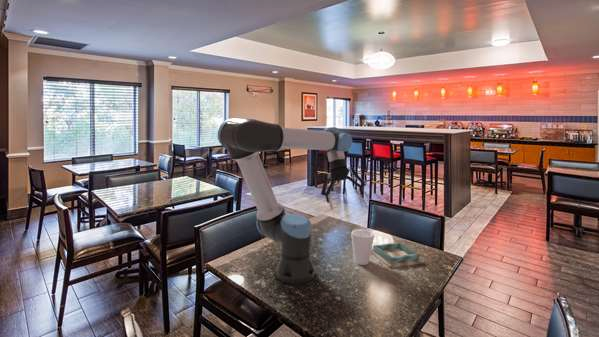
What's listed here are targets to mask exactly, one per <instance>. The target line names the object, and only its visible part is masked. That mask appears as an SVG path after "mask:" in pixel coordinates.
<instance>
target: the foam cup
mask: <svg viewBox="0 0 599 337" xmlns="http://www.w3.org/2000/svg"><path fill="white" fill-rule="evenodd" d="M350 235H351V244H352V251H353V252H352V255H353V262H354V263H355V264H356V265H360V266H363V265H364V266H365V265H368V264H369V263H370V258H371V250H372V249H373V248H372V247H373V243H374V240H375V239H374V238H375V233H374V232H373V231H371V230H367V229H361V228H359V229H353V230H352V231H351V234H350Z"/></svg>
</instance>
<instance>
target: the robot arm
mask: <svg viewBox="0 0 599 337" xmlns="http://www.w3.org/2000/svg"><path fill="white" fill-rule="evenodd" d="M339 130H340V129H338V127H335V126H332V127H327V128H324V129H323V130H314V129H304V128H293V127H282V125H280V124H277V123H270V122H266V121H262V120H258V119H253V118H240V117H232V118H228V119H225V120H224V121H222V122H221V124H220V125H219V128H218V129H217V140H218V143H219V144H220V145H221V146H222V147H223V148H224V149H226V150H227V152H228V155H229V157H230V159H231V160H232V161H235V162H236V163H237V165H238V167H239V169H240V171H241V174H242V177H243V179H244V182H245V183H246V187H247V188H248V191H249V192H250V196H251V198H252V200H253V202H254V204H255V207H256V209H257V212H256V222H255V223H256V224H255V225H256V228H257V231H258V232H259V233H260V234H261V235H262V236H263V237H265V238H267V239H269V240H271V241H273V242H275V243H277V244H279V245H280V259H279V260H278V264H277V267H276V272H275V273H276V275H275V276H276V277H277V279H278V280H279V281H281V282H282V283H286V284H289V285H290V284H291V285H302V284H306V283H308V282H311V281H312V280H313V279H314V278H315V272H316V271H315V267H314V262H313V260H312V255H311V253H312V252H311V250H312V224H311V221H310V219H309V218H308V217H306V216H304V215H303V214H297V213H286V211H285V208H284V206H283V204H281V203H279V202H278V201H277V198H276V196H275V195H276V194H275V193H274V190H273V188H272V185H271V183H270V180H269V178H268V176H267V175H268V174H267V173H266V170H265V167H264V165H263V162H262V160H261V158H260V154H259V153H261V152H279V151H280V150H281V149H283V150H284V149H285V150H288V149H289V150H290V149H291V150H311V151H312V150H314V151H315V150H316V151H326V154H327V158H328V162H329V169H330V173H324V181H323V185H322V189H321V193H320V195H321V196H325V200H326V202H327V203H328V205H329V207H330V210H332V211H333V210H334V205H333V200H332V195H331V192H332V190H333V188H334V186H335V185H336V183H337V182H341V181H345V180H349V181H350V182H351V183H352V184H354V185H355V186H356V187H358V188H357V192H358V197H359V201H360V204H364V201H363V200H364V199H363V196H364V194H365V193H364V189H363V188H364V187H366V186H367V184H366V183H365V181H364V180H363V179H362V178H361V176H359V174H358V173H357V172H356V169H355V168H354V167H352V166H351V168H348V165H347V161H346V159H345V158H346V155H345V152H347V151H349V150H350V149H351V148H352V146H353V138H352V136H351V134H349V133H346V132H340V131H339ZM350 173H351V174H353V176H355V178H356V179H357V180H358V182H360V183H358V182H357V181H356V180H354V179H353V178H352V177H350V176H349V174H350ZM331 177H332V179H331ZM330 179H331V182H330V184H329V180H330ZM328 184H329V186H328Z"/></svg>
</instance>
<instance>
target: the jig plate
mask: <svg viewBox="0 0 599 337" xmlns="http://www.w3.org/2000/svg"><path fill="white" fill-rule="evenodd" d="M372 247H373V248H371V254H372V255H373V256H374V257H375V258H377V259H378V260H379V261H380V262H381V263H382V264H384V265H385V266H386V267H388V268H389V269H395V268H400V267H406V266H414V265H419V264H420V265H421V264H425V260H424V259H422V258H421V257H420V256H421V254H420V253H419V252H416V251H415V250H414V249H412V248H411V247H408V245H405V244H404V243H402V242H401V241H398V242H390V243H384V244H383V243H382V244H375V245H372ZM371 254H370V255H371Z"/></svg>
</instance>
